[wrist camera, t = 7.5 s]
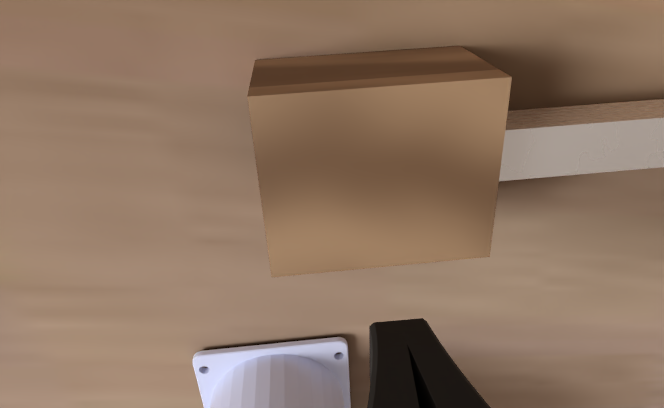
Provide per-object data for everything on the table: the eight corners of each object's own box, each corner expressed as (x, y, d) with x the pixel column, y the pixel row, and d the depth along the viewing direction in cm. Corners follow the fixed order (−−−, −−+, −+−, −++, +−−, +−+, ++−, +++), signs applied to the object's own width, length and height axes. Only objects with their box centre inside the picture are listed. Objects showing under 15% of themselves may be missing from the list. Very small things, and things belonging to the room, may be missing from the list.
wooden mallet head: (449, 194, 22) (489, 256, 18) (273, 209, 22) (271, 277, 18) (459, 45, 19) (511, 77, 15) (255, 60, 19) (247, 96, 15)
